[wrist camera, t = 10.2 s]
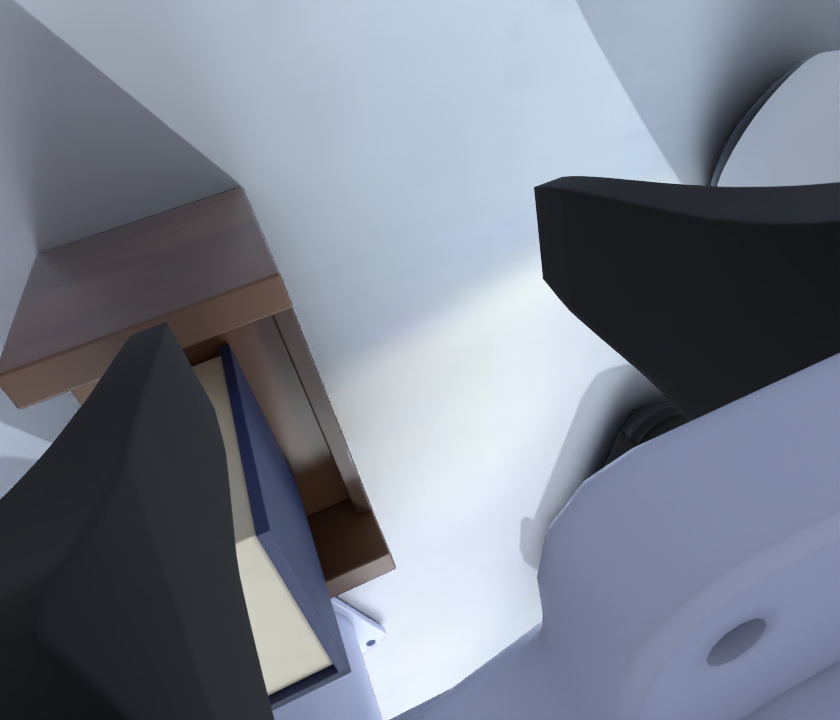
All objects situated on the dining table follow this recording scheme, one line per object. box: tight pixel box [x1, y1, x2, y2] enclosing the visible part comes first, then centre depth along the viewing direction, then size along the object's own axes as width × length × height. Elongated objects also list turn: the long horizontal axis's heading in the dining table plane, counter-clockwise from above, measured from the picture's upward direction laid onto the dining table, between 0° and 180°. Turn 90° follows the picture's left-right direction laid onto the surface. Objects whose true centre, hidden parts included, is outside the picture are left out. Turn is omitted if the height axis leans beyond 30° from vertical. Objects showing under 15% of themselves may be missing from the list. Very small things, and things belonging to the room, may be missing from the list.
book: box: [192, 344, 351, 711], centre depth 17 cm, size 3×6×8 cm, turn 13°
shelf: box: [0, 187, 396, 599], centre depth 20 cm, size 6×12×7 cm, turn 13°
